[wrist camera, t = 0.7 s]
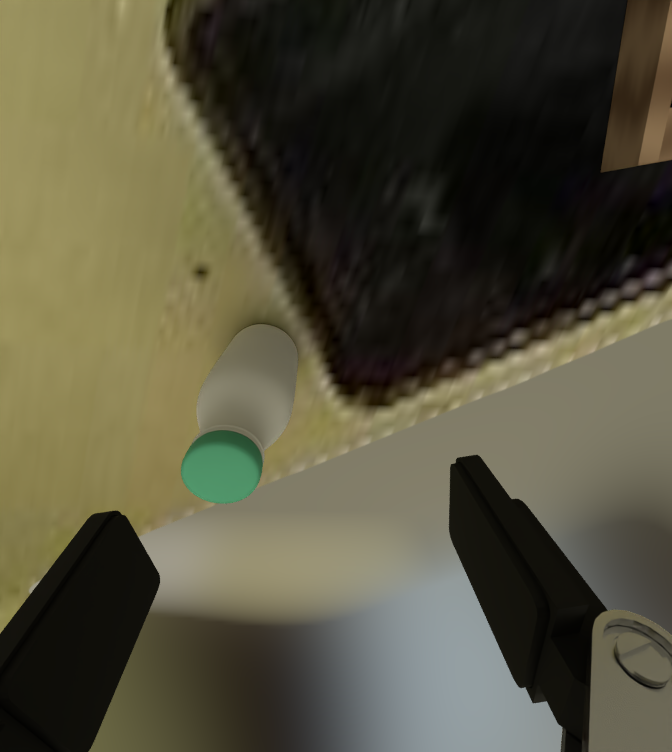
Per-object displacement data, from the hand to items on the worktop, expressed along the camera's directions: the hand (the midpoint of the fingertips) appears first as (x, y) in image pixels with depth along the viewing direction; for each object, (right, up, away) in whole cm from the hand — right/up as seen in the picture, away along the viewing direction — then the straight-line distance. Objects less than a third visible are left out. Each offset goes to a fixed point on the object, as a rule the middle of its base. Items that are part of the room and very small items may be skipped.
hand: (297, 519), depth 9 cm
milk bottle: (-7, +7, +28) cm, 29 cm away
